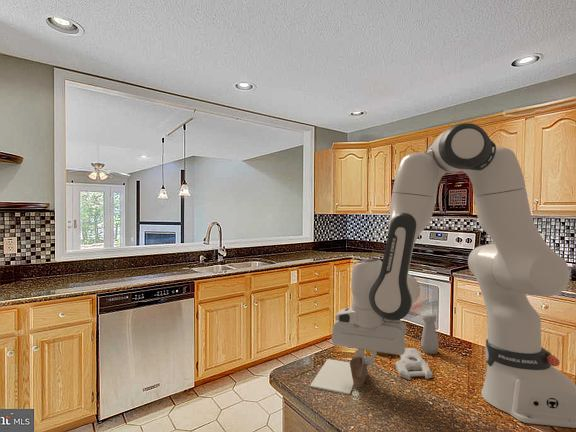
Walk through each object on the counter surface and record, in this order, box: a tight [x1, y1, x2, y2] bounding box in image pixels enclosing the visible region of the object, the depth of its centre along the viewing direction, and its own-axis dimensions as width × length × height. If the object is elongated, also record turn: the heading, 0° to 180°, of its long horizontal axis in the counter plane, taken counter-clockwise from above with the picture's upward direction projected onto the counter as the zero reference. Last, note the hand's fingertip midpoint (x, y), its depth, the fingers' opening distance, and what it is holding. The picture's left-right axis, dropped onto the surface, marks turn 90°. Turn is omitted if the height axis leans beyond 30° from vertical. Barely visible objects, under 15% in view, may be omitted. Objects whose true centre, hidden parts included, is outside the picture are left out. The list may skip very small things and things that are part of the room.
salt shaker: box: [420, 312, 440, 355], centre depth 112 cm, size 6×6×13 cm
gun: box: [394, 347, 434, 381], centre depth 101 cm, size 18×4×10 cm
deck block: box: [350, 350, 369, 388], centre depth 93 cm, size 2×9×6 cm, turn 157°
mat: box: [309, 358, 354, 396], centre depth 96 cm, size 11×18×1 cm, turn 157°
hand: (367, 364), depth 92 cm, fingers closed
